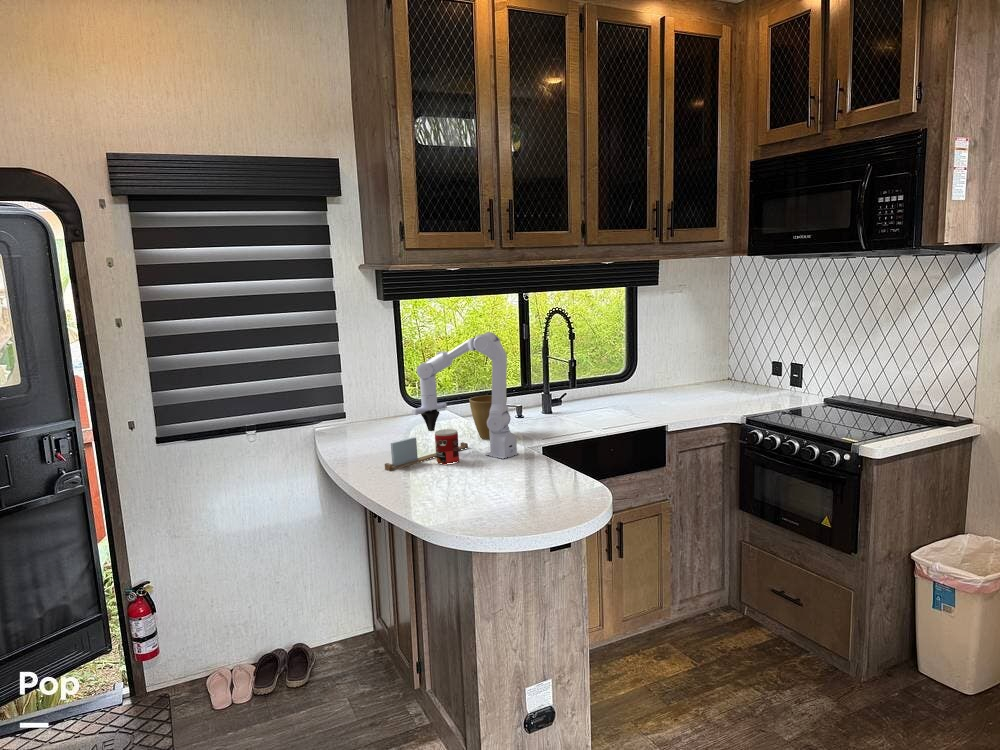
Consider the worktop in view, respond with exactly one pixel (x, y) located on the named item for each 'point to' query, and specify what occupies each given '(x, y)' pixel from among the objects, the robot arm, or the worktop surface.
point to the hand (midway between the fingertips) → (431, 430)
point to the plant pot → (481, 413)
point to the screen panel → (404, 451)
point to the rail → (420, 459)
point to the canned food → (447, 446)
